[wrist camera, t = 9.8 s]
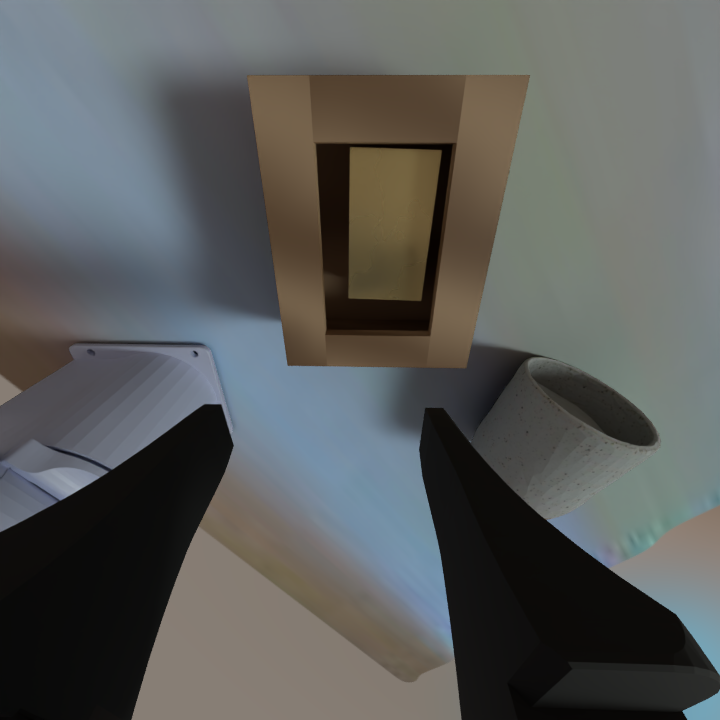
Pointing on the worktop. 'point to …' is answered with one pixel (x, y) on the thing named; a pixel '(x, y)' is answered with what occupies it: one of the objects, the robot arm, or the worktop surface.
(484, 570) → the robot arm
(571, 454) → the ceramic mug
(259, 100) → the walnut box
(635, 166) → the worktop surface
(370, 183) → the yellow rectangular block
